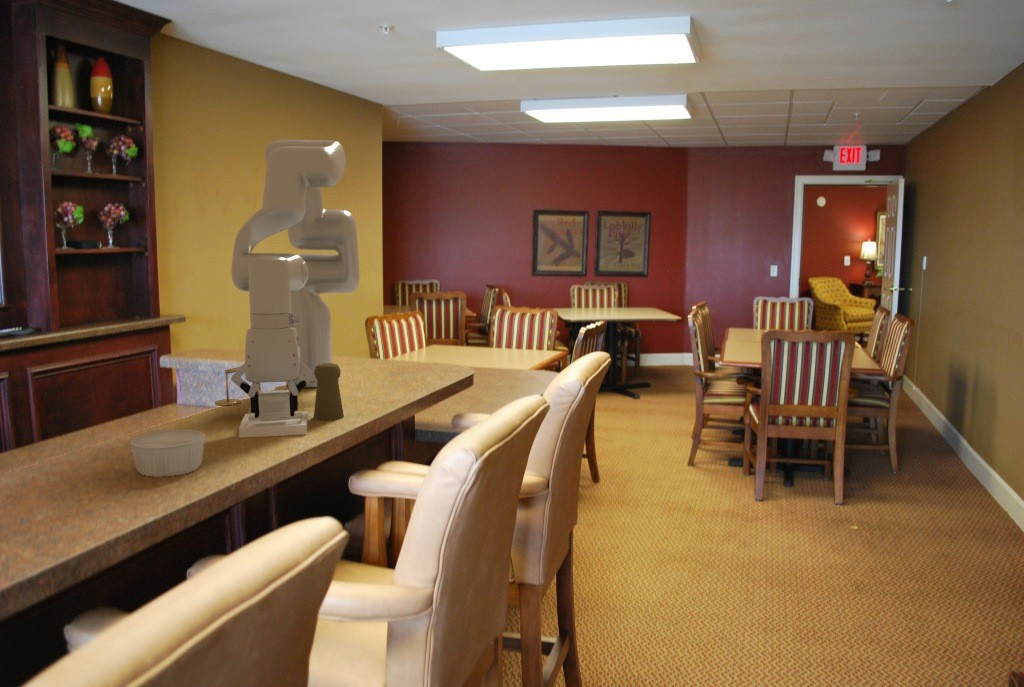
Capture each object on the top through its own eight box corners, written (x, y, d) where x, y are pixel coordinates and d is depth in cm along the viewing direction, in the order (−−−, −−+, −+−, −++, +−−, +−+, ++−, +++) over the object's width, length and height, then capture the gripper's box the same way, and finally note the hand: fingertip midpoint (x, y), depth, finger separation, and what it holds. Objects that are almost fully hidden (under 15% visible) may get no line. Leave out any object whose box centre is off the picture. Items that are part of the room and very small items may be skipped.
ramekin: (140, 484, 128) (138, 450, 127) (124, 467, 137) (122, 435, 136) (215, 472, 134) (214, 439, 133) (195, 456, 143) (193, 426, 142)
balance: (217, 414, 174) (214, 355, 172) (301, 410, 178) (299, 353, 176) (213, 420, 168) (210, 360, 167) (300, 417, 172) (298, 357, 170)
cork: (336, 421, 168) (335, 366, 167) (308, 419, 170) (306, 365, 168) (348, 414, 174) (347, 361, 173) (321, 413, 176) (319, 360, 174)
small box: (259, 415, 164) (258, 390, 163) (290, 413, 166) (289, 389, 165) (258, 422, 159) (257, 396, 158) (290, 420, 160) (289, 395, 159)
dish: (245, 422, 167) (245, 413, 167) (308, 420, 169) (307, 411, 169) (239, 437, 155) (238, 428, 155) (306, 434, 158) (306, 425, 157)
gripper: (318, 318, 165) (321, 409, 167) (225, 320, 161) (230, 413, 164) (317, 323, 158) (320, 418, 160) (220, 325, 154) (225, 422, 157)
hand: (274, 414), depth 162 cm, fingers closed on small box, 5 cm apart
